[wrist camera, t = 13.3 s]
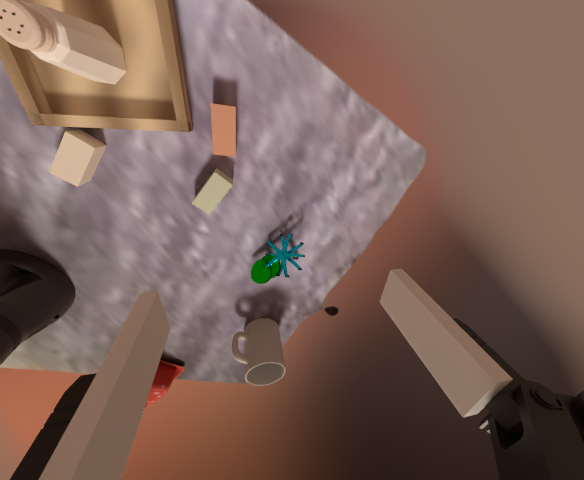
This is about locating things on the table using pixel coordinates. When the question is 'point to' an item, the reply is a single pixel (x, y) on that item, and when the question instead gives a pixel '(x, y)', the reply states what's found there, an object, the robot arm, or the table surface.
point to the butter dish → (163, 380)
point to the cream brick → (77, 157)
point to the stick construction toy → (275, 262)
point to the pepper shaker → (62, 40)
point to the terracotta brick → (223, 129)
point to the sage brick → (213, 191)
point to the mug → (260, 352)
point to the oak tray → (103, 96)
